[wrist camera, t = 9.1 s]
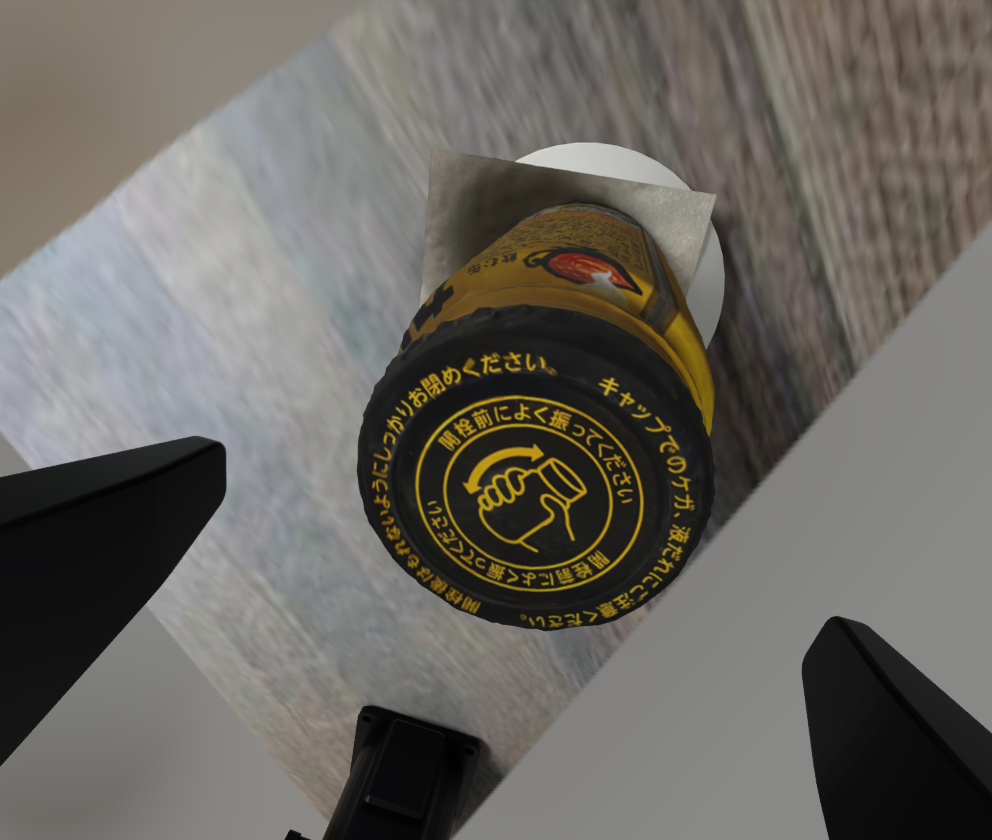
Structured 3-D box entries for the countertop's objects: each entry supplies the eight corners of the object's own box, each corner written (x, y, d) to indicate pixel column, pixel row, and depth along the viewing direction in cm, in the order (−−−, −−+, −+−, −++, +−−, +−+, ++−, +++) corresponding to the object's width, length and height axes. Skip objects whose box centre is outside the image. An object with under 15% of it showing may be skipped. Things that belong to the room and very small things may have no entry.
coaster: (666, 441, 21) (667, 451, 20) (430, 379, 22) (423, 386, 21) (766, 179, 17) (773, 181, 16) (473, 113, 18) (467, 112, 17)
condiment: (650, 417, 20) (692, 726, 9) (415, 369, 21) (204, 600, 10) (715, 193, 17) (895, 271, 6) (434, 147, 18) (154, 144, 7)
